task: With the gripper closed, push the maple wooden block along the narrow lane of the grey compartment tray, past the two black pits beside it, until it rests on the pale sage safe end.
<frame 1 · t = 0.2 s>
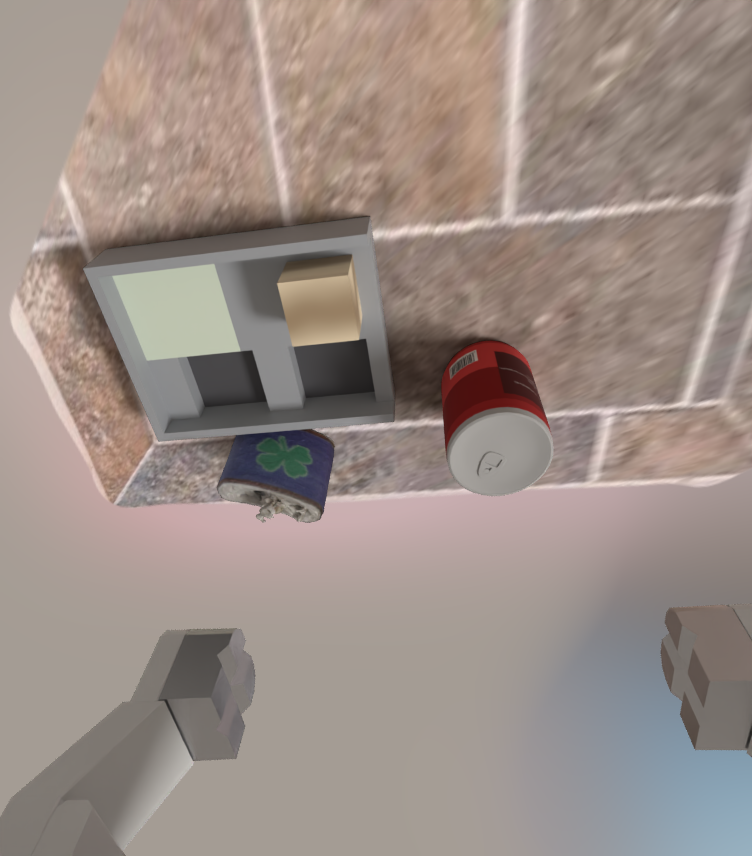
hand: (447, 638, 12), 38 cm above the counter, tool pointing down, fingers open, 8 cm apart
grey compartment tray: (260, 327, 51), on the counter
maple block: (325, 289, 46), point 2 cm above the counter, touching grey compartment tray
flask: (289, 433, 57), on the counter
canned food: (484, 376, 53), on the counter
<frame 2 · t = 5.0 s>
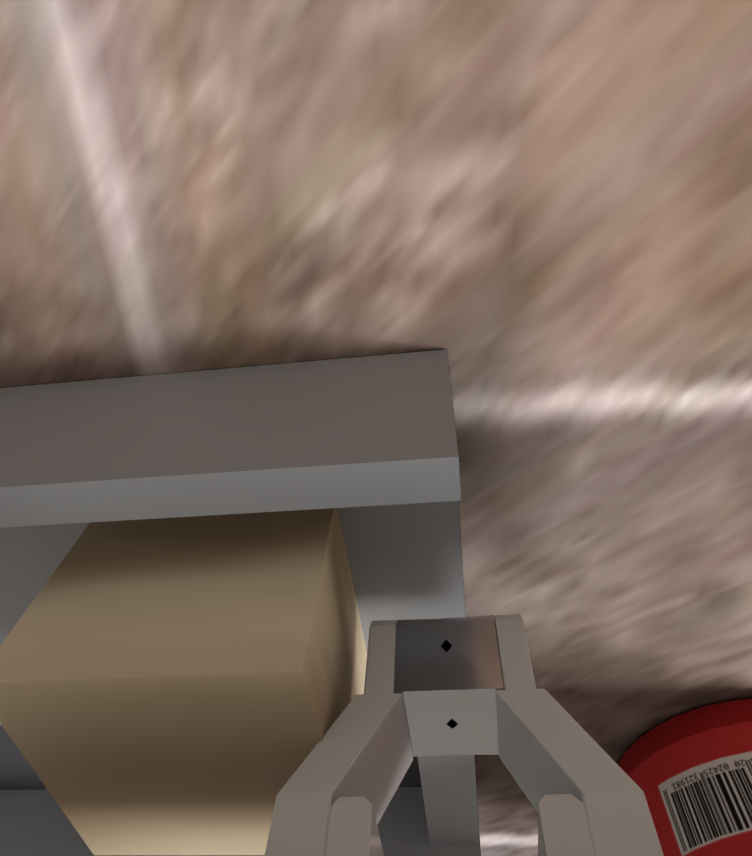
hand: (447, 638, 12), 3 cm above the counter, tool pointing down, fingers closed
grey compartment tray: (98, 637, 17), on the counter
maple block: (242, 595, 13), point 2 cm above the counter, touching gripper
canned food: (729, 764, 19), on the counter
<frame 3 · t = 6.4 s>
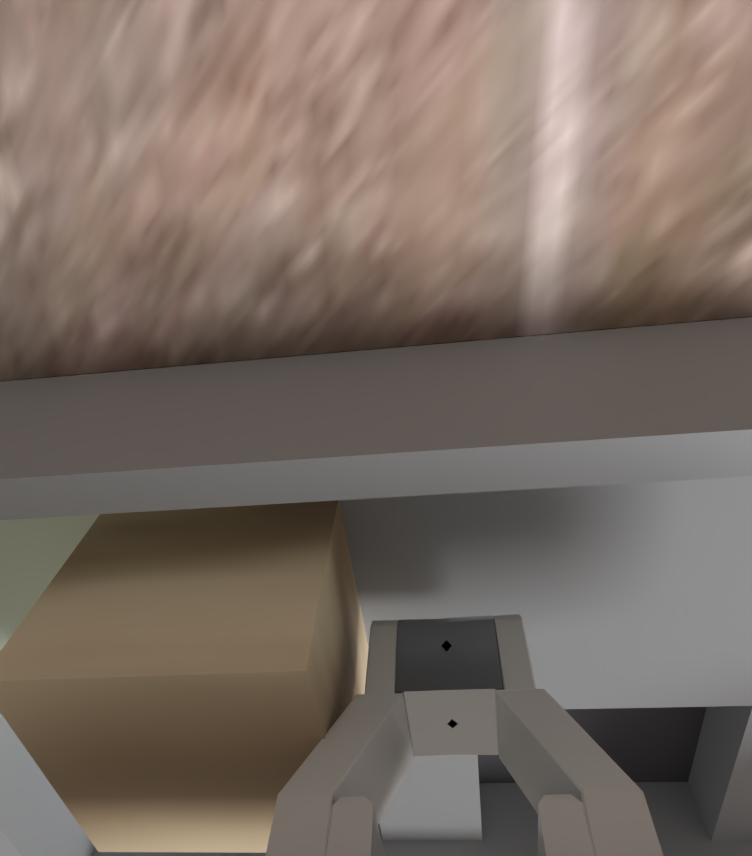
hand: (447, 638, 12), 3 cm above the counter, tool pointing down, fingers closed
grey compartment tray: (375, 623, 16), on the counter
maple block: (246, 594, 13), point 2 cm above the counter, touching gripper, grey compartment tray
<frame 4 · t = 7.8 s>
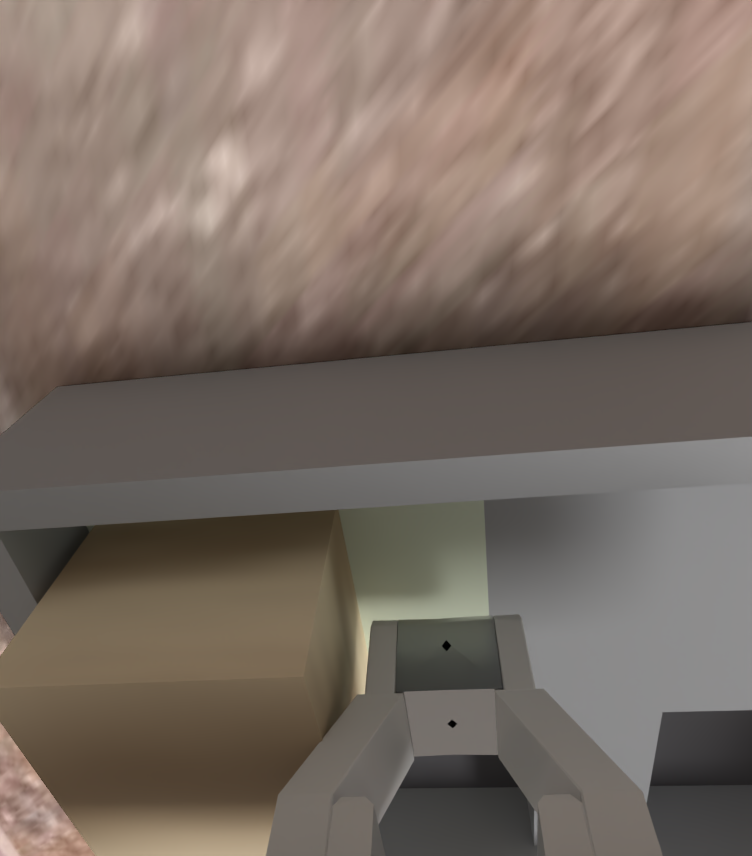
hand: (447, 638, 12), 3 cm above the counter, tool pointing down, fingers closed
grey compartment tray: (541, 622, 16), on the counter
maple block: (244, 599, 13), point 2 cm above the counter, touching gripper, grey compartment tray
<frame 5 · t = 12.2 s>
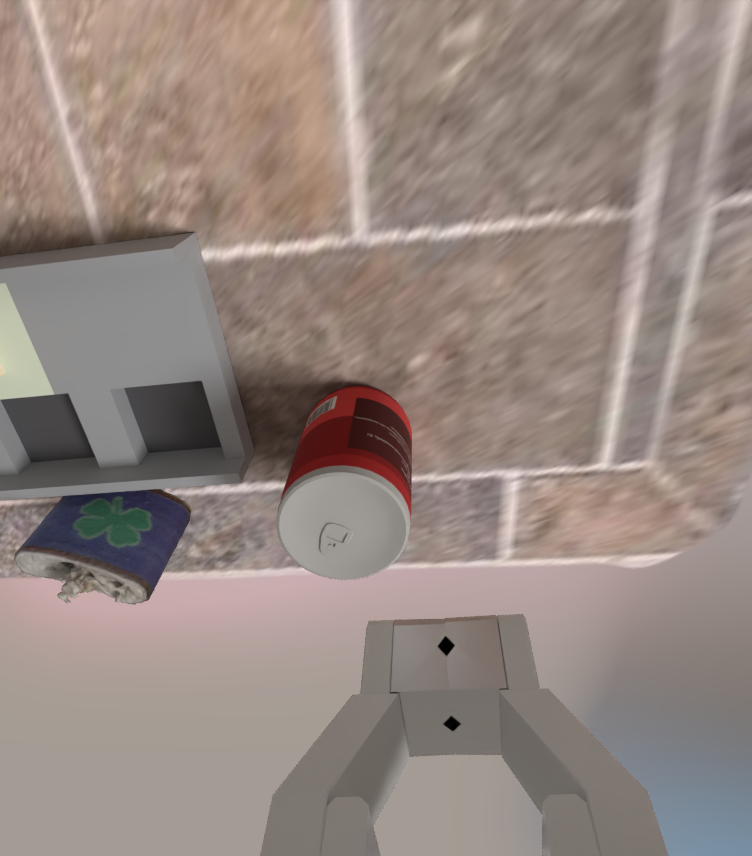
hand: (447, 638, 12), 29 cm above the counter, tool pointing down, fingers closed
grey compartment tray: (83, 366, 42), on the counter
flask: (137, 494, 48), on the counter
canned food: (359, 429, 44), on the counter
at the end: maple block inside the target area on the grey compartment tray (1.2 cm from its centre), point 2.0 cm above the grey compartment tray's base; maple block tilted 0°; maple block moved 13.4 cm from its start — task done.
